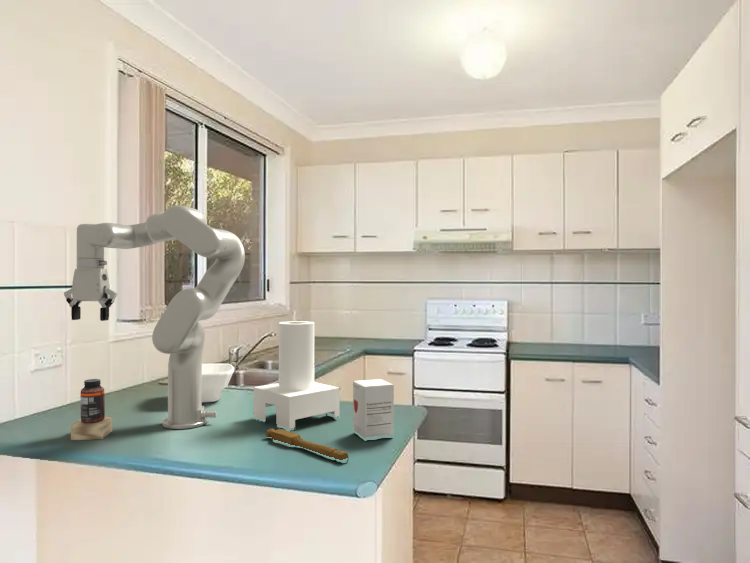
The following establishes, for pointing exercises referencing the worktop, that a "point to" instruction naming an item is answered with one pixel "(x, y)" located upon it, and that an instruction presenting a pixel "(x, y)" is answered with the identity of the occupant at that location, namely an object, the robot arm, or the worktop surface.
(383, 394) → the supplement box
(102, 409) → the supplement bottle
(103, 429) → the maple block
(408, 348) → the worktop surface
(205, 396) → the bowl
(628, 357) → the worktop surface
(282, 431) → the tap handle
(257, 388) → the paper towel holder
